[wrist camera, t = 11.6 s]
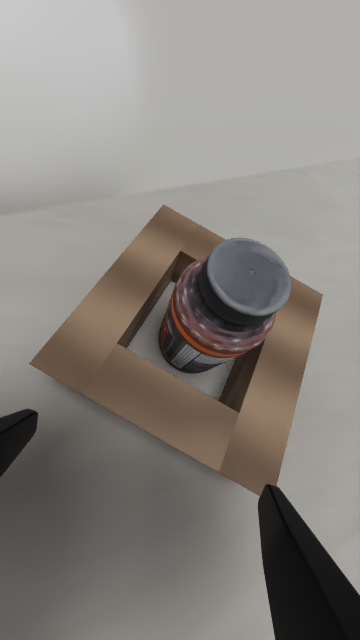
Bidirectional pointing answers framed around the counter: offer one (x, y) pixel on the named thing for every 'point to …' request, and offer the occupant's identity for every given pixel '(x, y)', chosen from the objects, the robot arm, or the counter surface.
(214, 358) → the supplement bottle
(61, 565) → the counter surface
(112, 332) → the walnut well
